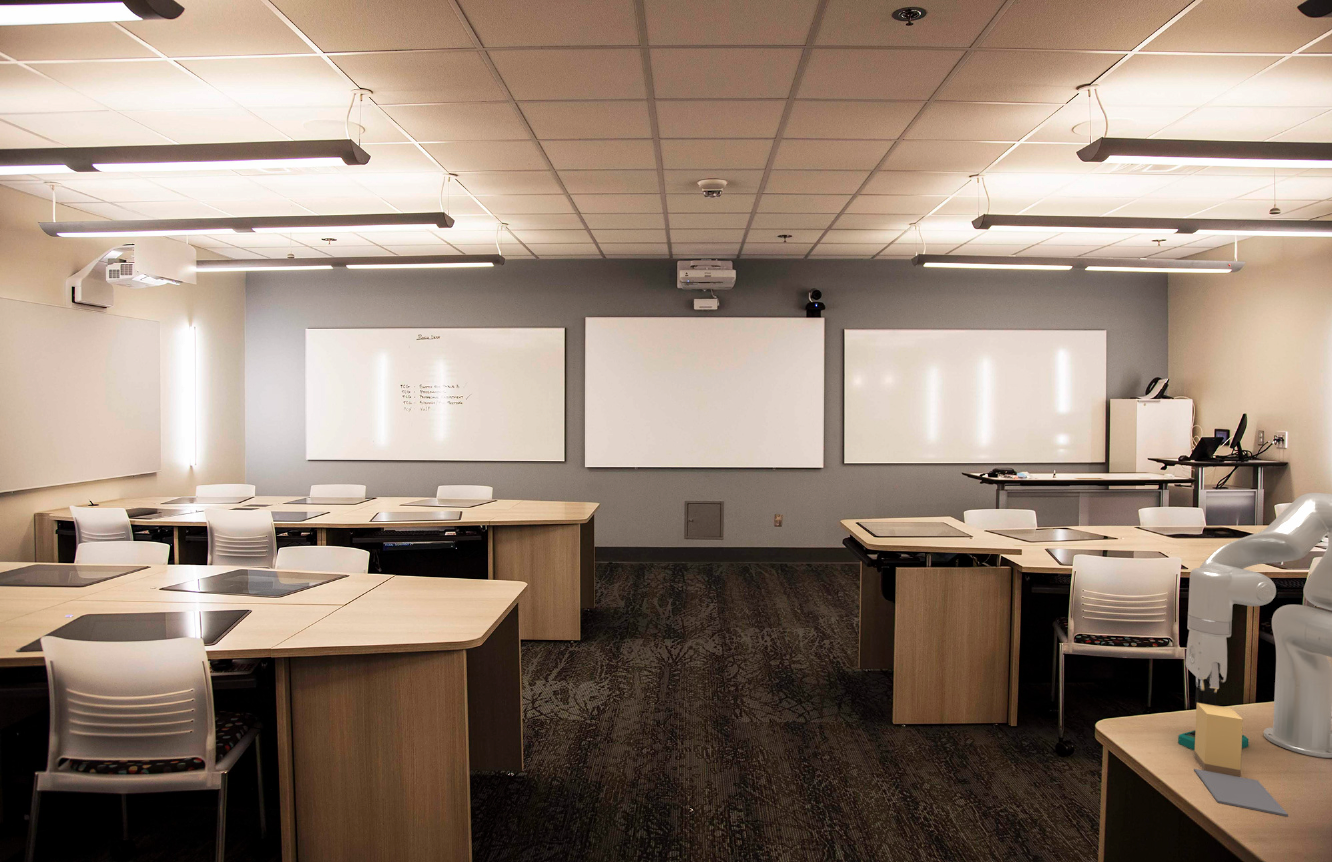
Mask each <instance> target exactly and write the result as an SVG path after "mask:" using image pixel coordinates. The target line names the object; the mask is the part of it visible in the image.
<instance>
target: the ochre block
mask: <svg viewBox="0 0 1332 862" xmlns="http://www.w3.org/2000/svg"><path fill="white" fill-rule="evenodd" d="M1195 714H1196V715H1195V730H1196V731H1195V750H1194V759H1195V760H1196V762H1197V763H1198V764H1199V766H1200V767H1201V768H1202V770H1205V771H1210V772H1215V773H1221V774H1226V775H1231V776H1237V777H1241V768H1242V749H1243V748H1242V735H1243V724H1244V723H1243V721H1244V719H1243V718H1242V717H1241V716H1240V715H1239V714H1238V713H1237V712H1236V711H1235V710H1234V709H1233V708H1232V707H1227V706H1226V707H1225V706H1220V705H1216V706H1215V705H1208V704H1202V703H1197V705H1196V713H1195Z"/></svg>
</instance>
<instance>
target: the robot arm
mask: <svg viewBox="0 0 1332 862" xmlns="http://www.w3.org/2000/svg"><path fill="white" fill-rule="evenodd" d="M1326 536H1327V539H1328V543H1327V544H1328V545H1327V548H1326V551H1325V552H1324V554H1323V556H1322V557H1321V559H1320V560H1319V562H1318V563H1317V565H1316V566H1315V568H1314V570H1313V571H1312V572H1311V574H1310V576H1309V577H1308V579H1307V580H1306V581H1305V584H1304V586H1303V590H1302V591H1303V596H1304V598H1305V599H1306V600H1307V601H1308V602H1309V603H1311V604H1312V605H1314V606H1316V608H1315V607H1311V606H1308V605H1302V604H1286V605H1282V606H1280V607H1279V608H1277V609H1276V610H1275V611H1274V612H1273V615H1272V618H1271V629H1272V634H1273V639H1274V643H1275V680H1274V681H1275V682H1274V698H1273V699H1274V701H1273V703H1274V705H1273V726H1272V727H1266V728H1265V729H1264V730H1263V736H1264V737H1265V738H1266V740H1267V741H1269V742H1271V743H1272V744H1274V745H1277V746H1279V747H1281V748H1283V749H1285V750H1289V751H1291V752H1295V753H1298V754H1302V755H1306V756H1309V757H1317V758H1325V759H1327V758H1328V759H1329V758H1331V759H1332V664H1331V662H1330V660H1329V659H1328V657H1329V658H1332V612H1330V611H1332V493H1325V492H1324V493H1323V492H1308V493H1304V494H1302V495H1300V496H1298V497H1297V498H1296V499H1295V500H1294V501H1293V502H1292V503H1291V504H1289V505H1288V506H1287V508H1285V509H1284V510H1283V511H1282V512H1281V513H1280V515H1278V516H1277V517H1275V519H1274V520H1273V521H1272V522H1270V524H1269V525H1268V526H1266V528H1265V529H1263V530H1262V531H1260V532H1257V533H1253V534H1250V535H1247V536H1244V537H1241V538H1238V539H1236V540H1233V541H1230V542H1228V543H1226V544H1224V545H1222V546H1220V547H1219V548H1217V549H1216V550H1214V551H1213V553H1212V554H1210V555H1209V556H1208V557H1207V558H1206V559H1205V560H1204V561H1203V562H1202V564H1201V565H1200V566H1199V567H1196V568H1193V569H1192V570H1191V571H1190V573H1189V584H1188V585H1189V589H1188V611H1187V630H1188V637H1187V643H1186V656H1185V667H1186V668H1187V670H1189V671H1190V673H1192V675H1193V676H1195V686H1196V687H1195V705H1196V706H1197V703H1202V704H1208V705H1215V706H1217V692H1218V690H1219V689H1220V683H1225V682H1226V681H1227V674H1228V643H1227V638H1231V636H1232V628H1233V627H1232V626H1233V625H1232V623H1233V622H1232V620H1233V605H1234V604H1235V605H1236V604H1237V605H1243V606H1248V607H1260V606H1264V605H1268V604H1269V603H1271V602H1272V601H1273V599H1274V598H1276V595H1277V588H1276V585H1275V583H1274V581H1272V579H1271V578H1270V577H1268V576H1267V575H1266V574H1265V575H1264V574H1263V573H1260V572H1257V571H1253V570H1250V569H1249V570H1248V569H1246V568H1250V567H1252V566H1257V565H1262V564H1272V563H1284V562H1292V561H1298V560H1301V559H1303V558H1304V557H1306V556H1307V555H1308V554H1309V553H1310V552H1311V551H1312V550H1313V549H1314V548H1315V547H1316V546H1317V545H1318V544H1319V543H1320V542H1321V541H1322V540H1324V538H1325V537H1326ZM1317 607H1318V608H1317ZM1319 607H1320V608H1322V609H1320V608H1319ZM1324 609H1325V610H1324ZM1328 610H1329V611H1328Z"/></svg>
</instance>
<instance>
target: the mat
mask: <svg viewBox="0 0 1332 862" xmlns="http://www.w3.org/2000/svg"><path fill="white" fill-rule="evenodd" d="M1193 772H1195V773H1196V775H1197V776H1198V777H1199V779H1200V780H1201V782H1202V783H1203V784H1204V786H1205V787H1206V789H1207V790H1208V791H1209V793H1210V794H1211V796H1212V797H1213V798H1214V800H1215V801H1216V802H1217V803H1218V804H1222V805H1223V804H1224V805H1227V806H1228V805H1229V806H1233V807H1237V808H1238V807H1239V808H1243V809H1247V810H1253V811H1258V812H1264V813H1267V814H1272V815H1279V816H1282V817H1287V818H1288V817H1289V814H1288V813H1287V811H1286V810H1285V809H1284V808H1283V807H1282V806H1281V805H1280V804H1279V802H1277V800H1276V799H1275V798H1274V797H1273V796H1272V795H1271V793H1270V792H1269V791H1268V790H1267V789H1266V788H1265V787H1264V786H1263V784H1262V783H1260V781H1259V780H1257V779H1253V778H1246V777H1241V776H1240V777H1237V776H1231V775H1226V774H1221V773H1215V772H1210V771H1205V770H1203V769H1200V768H1199V769H1198V768H1194V769H1193Z"/></svg>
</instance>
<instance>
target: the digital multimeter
mask: <svg viewBox="0 0 1332 862" xmlns="http://www.w3.org/2000/svg"><path fill="white" fill-rule="evenodd" d="M1195 731H1196V729H1194V730H1191V731H1188V732H1184V733H1180V734H1178V737H1177V742H1178V744H1179V745H1181V746H1183V747H1185V748H1186V749H1189V750H1193V751H1195ZM1249 743H1250V742H1249V738H1248V737H1247V736H1246V735H1244V734H1242V749H1245V748H1249Z"/></svg>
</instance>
